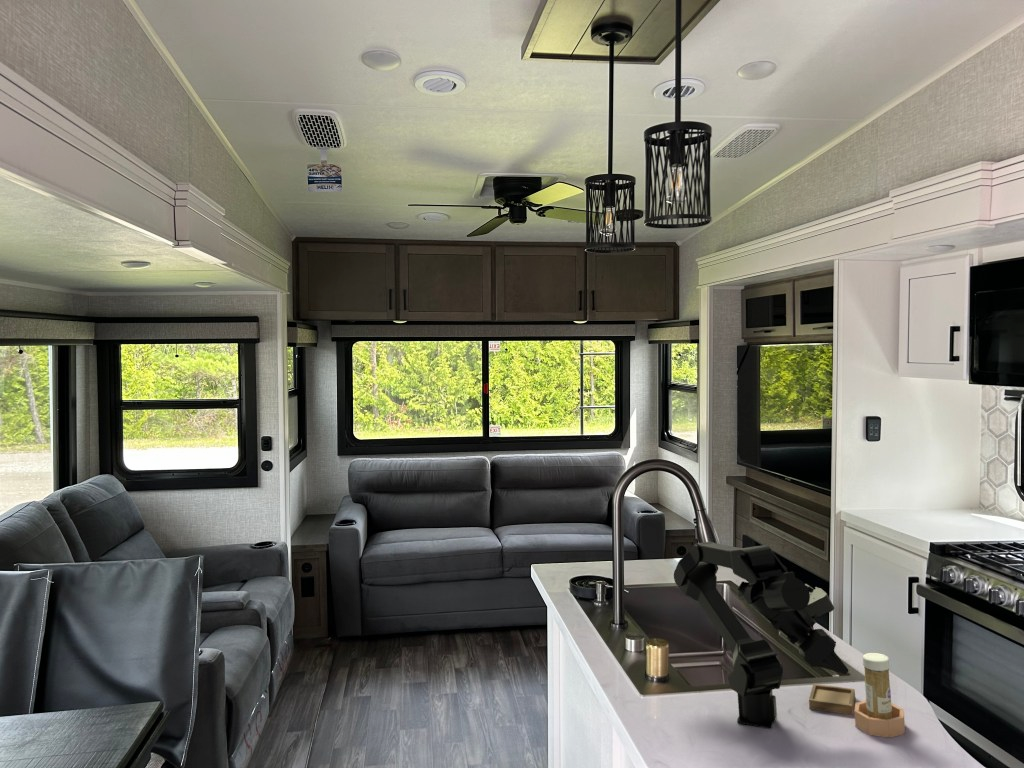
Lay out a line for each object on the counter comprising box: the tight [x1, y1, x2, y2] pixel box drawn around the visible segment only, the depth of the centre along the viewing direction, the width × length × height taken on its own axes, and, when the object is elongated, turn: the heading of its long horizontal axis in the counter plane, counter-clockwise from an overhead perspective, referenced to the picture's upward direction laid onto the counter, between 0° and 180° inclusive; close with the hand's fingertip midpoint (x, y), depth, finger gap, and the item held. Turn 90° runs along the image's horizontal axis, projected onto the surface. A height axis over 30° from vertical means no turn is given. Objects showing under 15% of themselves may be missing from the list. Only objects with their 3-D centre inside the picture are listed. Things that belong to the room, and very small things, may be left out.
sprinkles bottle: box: [862, 652, 892, 720], centre depth 143 cm, size 5×5×13 cm
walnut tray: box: [808, 683, 856, 716], centre depth 153 cm, size 8×8×2 cm
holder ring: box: [854, 700, 906, 738], centre depth 143 cm, size 8×8×3 cm
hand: (837, 662), depth 143 cm, fingers open, 9 cm apart
